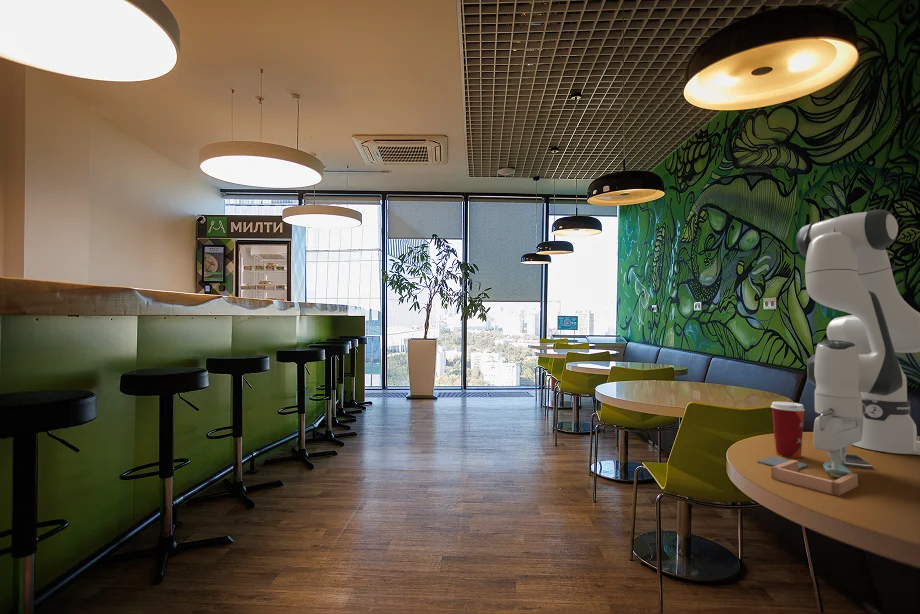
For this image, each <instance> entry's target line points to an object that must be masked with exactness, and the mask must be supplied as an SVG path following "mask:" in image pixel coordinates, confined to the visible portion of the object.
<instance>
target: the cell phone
mask: <svg viewBox="0 0 920 614" xmlns="http://www.w3.org/2000/svg"><path fill="white" fill-rule="evenodd" d="M842 465H843V466H845V467H847V466H849V467H848V468H855V467H857V468H858V469H865V468H866V469H867V470H868V469H869V470H871V469H872V468H873V465H872V464H871V463H869V462H868V461H866V460H865V459H862V457H859V456H858V455H857V454H852V453H851V454H849V453H846V457H845V464H842ZM866 469H865V470H866Z"/></svg>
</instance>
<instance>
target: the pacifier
mask: <svg viewBox="0 0 920 614" xmlns="http://www.w3.org/2000/svg"><path fill="white" fill-rule="evenodd" d="M827 456H828V459H830V460H831V461H825V462H824V463H823V468H824V470H825V472H827V473H829V474H830V477H833V478H837V479H839V478H841V477H843V476H845V475H848V474H850V473H852V471H851V470H850V469H849V467H847V466H843V465H841V464H839V463H838V458H837V455H836V453H835V451H833V452H828V451H827Z"/></svg>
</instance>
